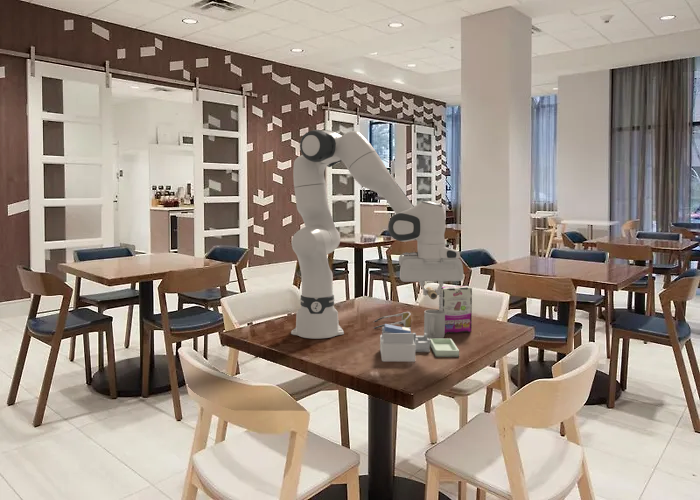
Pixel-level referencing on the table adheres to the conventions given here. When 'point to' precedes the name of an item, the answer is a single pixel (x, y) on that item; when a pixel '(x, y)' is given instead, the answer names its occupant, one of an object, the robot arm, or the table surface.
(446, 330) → the candy bar box
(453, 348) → the tray
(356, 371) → the table surface
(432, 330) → the cup
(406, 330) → the blue box
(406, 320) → the sunglasses
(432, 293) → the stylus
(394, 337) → the grey card holder
